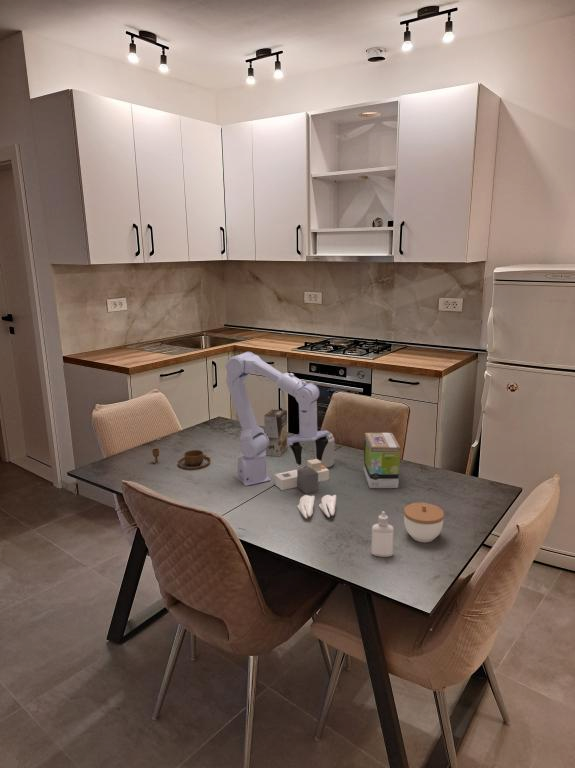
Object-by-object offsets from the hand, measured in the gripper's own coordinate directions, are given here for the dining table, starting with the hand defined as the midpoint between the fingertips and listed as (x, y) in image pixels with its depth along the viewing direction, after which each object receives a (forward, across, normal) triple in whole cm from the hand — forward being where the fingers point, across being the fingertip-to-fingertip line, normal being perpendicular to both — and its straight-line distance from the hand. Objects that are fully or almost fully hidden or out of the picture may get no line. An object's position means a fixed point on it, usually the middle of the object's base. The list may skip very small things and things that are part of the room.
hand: (309, 461), depth 181 cm
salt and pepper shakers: (+11, -6, -15) cm, 20 cm away
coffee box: (+10, +5, +36) cm, 38 cm away
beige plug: (+6, +6, +7) cm, 11 cm away
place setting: (+10, -29, +44) cm, 53 cm away
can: (+10, +15, +16) cm, 24 cm away
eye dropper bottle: (+11, -2, -43) cm, 44 cm away
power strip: (+10, +1, +7) cm, 12 cm away
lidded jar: (+11, +13, -41) cm, 44 cm away
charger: (+10, 0, +2) cm, 10 cm away
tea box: (+11, +26, -4) cm, 28 cm away
